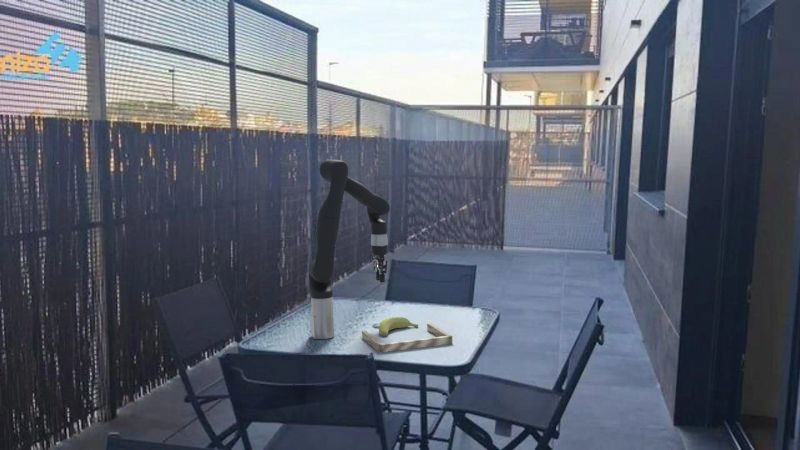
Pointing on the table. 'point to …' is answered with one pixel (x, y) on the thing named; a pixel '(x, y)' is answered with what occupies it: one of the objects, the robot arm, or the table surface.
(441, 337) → the wooden rimmed tray
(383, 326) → the banana
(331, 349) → the table surface
